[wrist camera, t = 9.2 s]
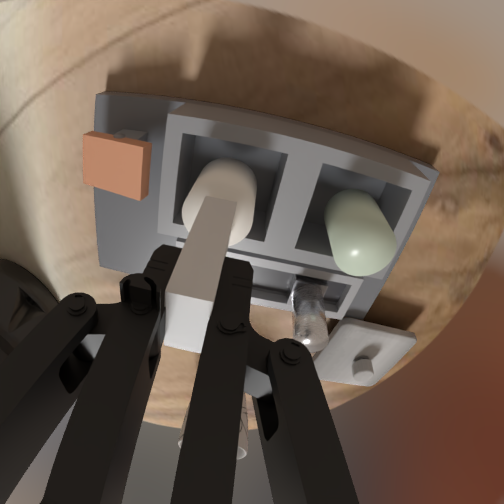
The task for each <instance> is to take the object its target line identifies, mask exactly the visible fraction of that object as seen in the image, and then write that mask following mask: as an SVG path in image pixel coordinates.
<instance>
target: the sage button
mask: <svg viewBox="0 0 504 504" xmlns="http://www.w3.org/2000/svg"><path fill="white" fill-rule="evenodd" d="M324 221H325V225H326V229H327V233H328V237H329V241H330V245H331V249H332V253H333V257H334V261H335V263H336V265H337V266H338V267H339V268H340V269H341V270H342V271H343V272H345V273H347V274H349V275H353V276H367V275H371V274H374V273H377V272H378V271H380V270H382V269H383V268H384V267H386V266H387V265H388V264H389V263H390V261H391V260H392V258H393V257H394V254H395V252H396V247H397V242H396V237H395V235H394V233H393V231H392V229H391V227H390V226H389V224H388V222H387V220H386V218H385V217H384V215H383V213H382V212H381V210H380V208H379V206H378V205H377V203H376V201H375V200H374V198H373V197H372V196H371V195H370V194H369V193H367V192H365V191H363V190H360V189H346V190H343V191H341V192H339V193H337V194H335V195H334V196H333V197H332V198H331V199H330V200H329V201H328V203H327V205H326V207H325V210H324Z"/></svg>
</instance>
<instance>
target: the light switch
mask: <svg viewBox="0 0 504 504" xmlns="http://www.w3.org/2000/svg"><path fill="white" fill-rule="evenodd" d="M328 337H329V342H328V345H327V346H326V347H325V348H324V349H322V350H320V351H317V352H316V353H315V355H314V356H313V357H312V359H313V362H314V365H315V368H316V371H317V374H318V377H319V380H326V381H332V382H339V383H346V384H353V385H361V386H372V385H374V384H376V383H377V382H378V381H379V380H380V379H381V378H382V377H383V376H384V375H385V374H386V373H387V372H388V371H389V370H390V369H391V368H392V367H393V366H394V365H395V364H396V363H397V362H398V361H399V360H400V359H401V358H402V357H403V356H404V355H405V354H406V353H407V352H408V351H409V350H410V349H411V348H412V346H413V345H414V344H415V343H416V341H417V339H416V336H415V334H414V333H413V332H409V331H404V330H400V329H396V328H392V327H387V326H383V325H379V324H374V323H370V322H366V321H361V320H357V319H353V318H350V317H349V318H344V319H342V320H340V321H339V322H338V324H337V325H336V326H335V328H334V329H333V331H332V332H331V333H330V335H329V336H328Z"/></svg>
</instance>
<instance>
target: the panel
mask: <svg viewBox="0 0 504 504" xmlns="http://www.w3.org/2000/svg"><path fill="white" fill-rule="evenodd" d="M94 131H96V132H101V133H107V134H112V135H114V134H118V133H121V134H125V135H126V136H125V137H126V138H131V139H136V140H140V141H145V142H149V143H152V151H151V163H150V177H149V194H148V196H146V197H145V198H144V199H142V200H141V201H138V200H135V199H132V198H129V197H126V196H123V195H119V194H116V193H113V192H110V191H107V190H103V189H100V188H97V187H94V202H95V220H96V233H97V245H98V255H99V264H100V267H104V268H108V269H112V270H116V271H121V272H125V273H129V274H135V273H143V271H144V269H145V267H146V265H147V263H148V261H150V258H151V256H152V254H153V252H154V250H156V249H157V248H158V247H160V246H161V245H162V244H165V245H170V246H175V247H179V248H183V246H184V244H185V241H186V239H187V237H188V234H189V232H188V231H187V229H186V227H185V225H184V223H183V219H182V207H183V204H184V201H185V200H186V198H187V196H188V194H189V192H190V191H191V189H192V187H193V185H194V183H195V182H196V180H197V178H198V176H199V175H200V173H201V171H202V170H203V168H204V167H205V166H206V165H207V164H208V163H210V162H211V161H213V160H216V159H219V158H234V159H237V160H240V161H242V162H243V163H245V164H246V165H247V166H248V167H250V169H251V170H252V171H253V173H254V175H255V177H256V181H257V192H256V200H255V208H254V216H253V223H252V227H251V230H250V232H249V233H248V235H247V236H246V237H245V238H244V239H243V240H241V241H240V242H238V243H237V244H234V245H231V246H228V250H227V254H226V257H230V258H235V259H240V260H245V261H249V262H250V264H251V266H252V268H253V270H254V274H253V284H252V293H251V303H250V304H254V305H260V306H265V307H270V308H276V309H281V310H287V311H292V305H287V304H286V294H287V292H288V289H289V286H290V284H291V281H292V278H293V276H294V274H298V275H303V276H308V277H313V278H318V279H323V280H327V282H328V288H327V290H326V293H325V295H324V297H323V301H324V308H325V315H326V317H328V318H334V319H340V320H342V319H343V317H350V318H356V319H364V317H365V315H366V314H367V312H368V310H369V309H370V307H371V305H372V304H373V302H374V300H375V299H376V297H377V295H378V294H379V292H380V290H381V289H382V287H383V285H384V283H385V282H386V280H387V278H388V276H389V274H390V273H391V271H392V269H393V267H394V265H395V264H396V262H397V260H398V258H399V256H400V254H401V252H402V251H403V249H404V247H405V245H406V243H407V241H408V239H409V237H410V235H411V233H412V231H413V229H414V227H415V225H416V223H417V221H418V219H419V217H420V215H421V212H422V210H423V208H424V206H425V204H426V202H427V200H428V197H429V195H430V193H431V191H432V188H433V186H434V184H435V182H436V179H437V177H438V175H439V171H438V170H437V169H435V168H434V167H433V166H432V165H430V164H427V163H425V162H423V161H420V160H417V159H415V158H412V157H410V156H407V155H405V154H402V153H399V152H397V151H394V150H391V149H388V148H385V147H383V146H380V145H377V144H374V143H371V142H368V141H365V140H362V139H359V138H356V137H353V136H349V135H346V134H343V133H340V132H336V131H333V130H330V129H326V128H323V127H319V126H315V125H312V124H308V123H304V122H300V121H296V120H292V119H288V118H284V117H280V116H276V115H271V114H267V113H262V112H258V111H253V110H248V109H243V108H238V107H233V106H227V105H222V104H216V103H210V102H204V101H197V100H190V99H183V98H175V97H167V96H159V95H149V94H138V93H126V92H110V91H105V92H102V93H98V94H96V100H95V117H94ZM346 189H360V190H363V191H365V192H367V193H369V194H370V195H371V196H372V197H373V198H374V200H375V201H376V203H377V205H378V206H379V208H380V210H381V212H382V213H383V215H384V217H385V218H386V220H387V222H388V224H389V226H390V227H391V229H392V231H393V233H394V235H395V237H396V242H397V247H396V252H395V254H394V257H393V258H392V260H391V261H390V263H389V264H388V265H387V266H386V267H384V268H383V269H382V270H380V271H378V272H377V273H374V274H371V275H367V276H353V275H349V274H347V273H345V272H343V271H342V270H341V269H340V268H339V267H338V266H337V265H336V263H335V261H334V257H333V253H332V249H331V245H330V241H329V237H328V233H327V229H326V225H325V221H324V210H325V207H326V205H327V203H328V201H329V200H330V199H331V198H332V197H333V196H334V195H335V194H337V193H339V192H341V191H343V190H346Z"/></svg>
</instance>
